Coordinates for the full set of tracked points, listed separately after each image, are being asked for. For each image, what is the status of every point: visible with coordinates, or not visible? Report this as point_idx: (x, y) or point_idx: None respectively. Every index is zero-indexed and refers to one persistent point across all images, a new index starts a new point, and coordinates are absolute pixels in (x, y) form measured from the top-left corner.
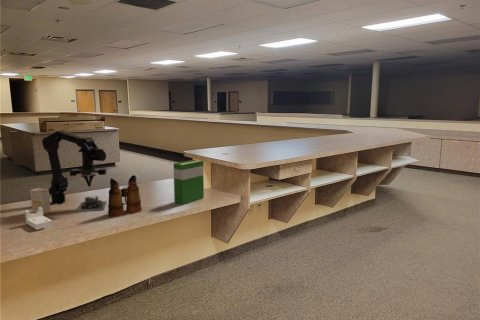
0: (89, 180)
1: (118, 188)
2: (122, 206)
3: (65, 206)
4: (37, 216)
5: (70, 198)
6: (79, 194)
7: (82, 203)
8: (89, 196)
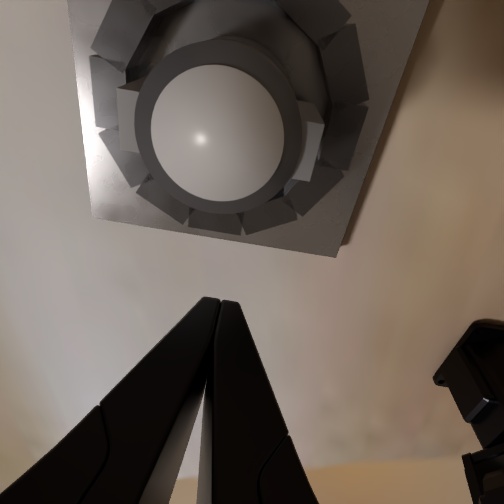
0: (148, 457)
1: None
2: None
3: (480, 242)
4: None
5: (386, 406)
6: (319, 450)
7: (345, 134)
8: (248, 178)
